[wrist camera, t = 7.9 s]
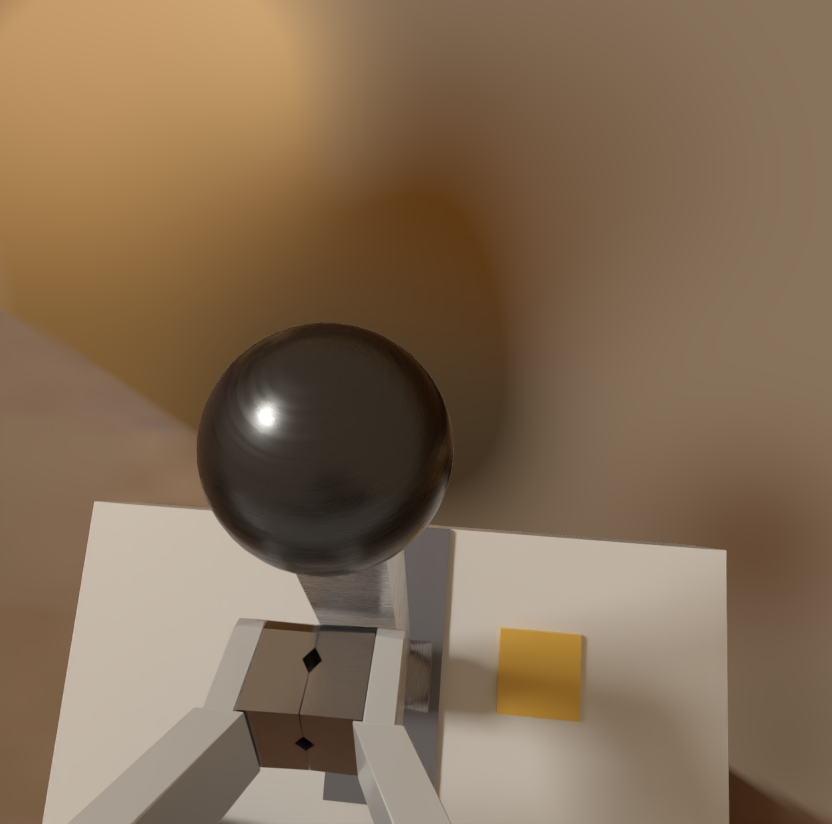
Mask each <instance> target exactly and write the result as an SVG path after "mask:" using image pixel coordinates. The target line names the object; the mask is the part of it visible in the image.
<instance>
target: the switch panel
mask: <svg viewBox="0 0 832 824" xmlns="http://www.w3.org/2000/svg"><path fill="white" fill-rule="evenodd" d="M404 558H405V572H406V585H407V599H408V613H409V626H410V640H419V641H430V642H433V646H432V662H431V677H430V691H429V704H428V713H424V712H414V711H404V713H403V723H402V725H405V726H406V728H407V731H408V733H409V735H410V737H411V739H412V741H413V743H414V745H415V748H416V750H417V752H418V754H419V756H420V758H421V760H422V762H423V765H424V767H425V769H426V771H427V773H428V775H429V777H430V779H431V781H432V784H433V786H434V788H435V790H436V792H437V794H438V796H439V798H440V801H441V803H442V805H443V807H444V809H445V811H446V813H447V815H448V818H449V820H450V822H451V824H729V762H728V674H727V672H728V671H727V584H726V582H727V580H726V551H725V550H718V549H712V548H705V547H698V546H691V545H682V544H669V543H656V542H643V541H630V540H616V539H604V538H591V537H578V536H565V535H553V534H552V535H551V534H540V533H527V532H514V531H513V532H512V531H501V530H488V529H475V528H462V527H449V526H436V525H428V526H427V527H426V528H425V529H424V530H423V532H422V533H421V534H420V535H419V536H418V537H417V538H416V539H415V540H414V541H413V542H412V543H411V544H409V545H408V546H407V547H406V548H405V549H404ZM239 618H248V619H263V620H270V621H282V622H294V623H306V624H318V625H320V623H319V621H318V619H317V617H316V615H315V613H314V611H313V609H312V606H311V604H310V602H309V600H308V598H307V596H306V594H305V592H304V590H303V588H302V586H301V584H300V582H299V579H298V577H297V575H296V574H294V573H291V572H287V571H284V570H280V569H278V568H275V567H273V566H271V565H269V564H266V563H264V562H263V561H261V560H260V559H258V558H256V557H255V556H253V555H252V554H250V553H249V552H247V551H246V550H244V549H243V548H242V547H241V546H240V545H239V544H237V543H236V542H235V541H234V540H233V539H232V538H231V536H230V535H229V534H228V533H227V532H226V531H225V529H224V528H223V527H222V526H221V524H220V523H219V522H218V520H217V519H216V517H215V515H214V514H213V512H212V510H211V508H204V507H191V506H178V505H165V504H152V503H134V502H96V501H94V507H93V514H92V520H91V526H90V532H89V538H88V544H87V551H86V557H85V563H84V569H83V575H82V582H81V588H80V594H79V600H78V606H77V612H76V619H75V625H74V631H73V637H72V643H71V649H70V656H69V662H68V668H67V674H66V680H65V687H64V693H63V699H62V705H61V711H60V717H59V724H58V730H57V736H56V742H55V748H54V755H53V761H52V767H51V773H50V779H49V785H48V792H47V798H46V804H45V810H44V816H43V823H42V824H68V823H69V822H70V821H71V820H72V819H73V818H74V817H75V816H76V815H78V814H79V813H80V812H81V811H82V810H83V809H84V808H85V807H86V806H87V805H88V804H89V803H91V802H92V801H93V800H94V799H95V798H96V797H97V796H98V795H99V794H100V793H101V792H103V791H104V790H105V789H106V788H107V787H108V786H109V785H110V784H111V783H112V782H113V781H115V780H116V779H117V778H118V777H119V776H120V775H121V774H122V773H123V772H124V771H125V770H127V769H128V768H129V767H130V766H131V765H132V764H133V763H134V762H135V761H136V760H137V759H138V758H140V757H141V756H142V755H143V754H144V753H145V752H146V751H147V750H148V749H149V748H150V747H152V746H153V745H154V744H155V743H156V742H157V741H158V740H159V739H160V738H161V737H162V736H164V735H165V734H166V733H167V732H168V731H169V730H170V729H171V728H172V727H173V726H174V725H176V724H177V723H178V722H179V721H180V720H181V719H182V718H183V717H184V716H185V715H186V714H187V713H189V712H190V711H191V710H192V709H193V708H203V705H204V702H205V700H206V697H207V694H208V692H209V689H210V687H211V684H212V681H213V679H214V676H215V674H216V671H217V668H218V666H219V663H220V661H221V658H222V655H223V653H224V650H225V648H226V645H227V642H228V640H229V637H230V635H231V632H232V629H233V627H234V626H235V624H236V623H237V621H238V620H239ZM219 823H220V824H374V822H373V819H372V817H371V814H370V811H369V808H368V805H367V802H366V800H365V797H364V794H363V791H362V788H361V785H360V782H359V780H358V776H355V775H346V774H338V773H329V772H321V771H312V770H310V769H309V770H298V769H282V768H265V767H260V772H259V773H258V774H257V776H256V777H255V778H254V779H253V781H252V782H251V783H250V784H249V786H248V787H247V788H246V789H245V791H244V792H243V793H242V794H241V796H240V797H239V798H238V799H237V801H236V802H235V803H234V804H233V806H232V807H231V808H230V809H229V811H228V812H227V813H226V814H225V816H224V817H223V818H222V819H221V821H220V822H219Z"/></svg>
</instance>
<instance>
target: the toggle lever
mask: <svg viewBox="0 0 832 824" xmlns="http://www.w3.org/2000/svg"><path fill="white" fill-rule="evenodd" d="M452 463H453V433H452V427H451V421H450V417H449V414H448V411H447V408H446V405H445V402H444V399H443V397H442V395H441V394H440V392H439V390H438V388H437V386H436V384H435V382H434V381H433V379H432V378H431V376H430V375H429V373H428V372H427V371H426V370H425V368H424V367H423V366H422V365H421V364H420V363H419V362H418V361H417V360H416V359H415V358H414V357H413V356H412V355H411V354H410V353H409V352H408V351H406V350H405V349H404V348H402V347H401V346H400V345H398V344H396V343H395V342H393V341H392V340H390V339H388V338H387V337H385V336H383V335H380V334H378V333H376V332H374V331H371V330H368V329H364V328H361V327H358V326H353V325H348V324H341V323H329V322H322V323H309V324H304V325H298V326H294V327H291V328H287V329H284V330H281V331H279V332H276V333H274V334H272V335H270V336H267V337H266V338H264V339H262V340H260V341H259V342H257V343H256V344H254V345H252V346H251V347H250V348H249V349H247V350H246V351H245V352H243V353H242V354H241V355H240V356H239V357H238V358H237V359H236V360H234V362H232V363H231V364H230V365H229V367H228V368H227V369H226V370H225V372H224V373H223V374H222V376H221V377H220V379H219V380H218V382H217V383H216V385H215V387H214V388H213V390H212V391H211V393H210V396H209V397H208V400H207V402H206V404H205V408H204V411H203V414H202V417H201V421H200V424H199V429H198V437H197V465H198V471H199V476H200V481H201V486H202V489H203V492H204V494H205V497H206V500H207V502H208V504H209V506H210V508H211V510H212V512H213V514H214V515H215V517H216V519H217V520H218V522H219V523H220V524H221V526H222V527H223V528H224V529H225V531H226V532H227V533H228V534H229V535H230V536H231V538H232V539H233V540H234V541H235V542H236V543H237V544H239V545H240V546H241V547H242V548H243V549H244V550H246V551H247V552H249V553H250V554H252V555H253V556H255V557H256V558H258V559H260V560H261V561H263V562H264V563H266V564H269V565H271V566H273V567H275V568H278V569H280V570H284V571H287V572H291V573H294V574H296V575H297V577H298V579H299V582H300V584H301V586H302V588H303V590H304V592H305V594H306V596H307V598H308V600H309V602H310V604H311V606H312V609H313V611H314V613H315V615H316V617H317V619H318V621H319V623H320V625H323V624H327V625H344V626H362V627H378V629H380V628H381V629H398V630H406V631H407V657H406V686H405V702H404V711H414V712H424V713H428V704H429V691H430V677H431V662H432V646H433V642H430V641H419V640H410V626H409V613H408V599H407V585H406V572H405V558H404V549H405V548H406V547H407V546H408V545H409V544H411V543H412V542H413V541H414V540H415V539H416V538H417V537H418V536H419V535H420V534H421V533H422V532H423V530H424V529H425V528H426V527H427V526H428V524H429V523H430V521H431V520H432V518H433V517H434V515H435V514H436V512H437V510H438V508H439V506H440V504H441V502H442V500H443V497H444V495H445V493H446V490H447V487H448V483H449V480H450V475H451V470H452Z"/></svg>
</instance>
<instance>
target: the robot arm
mask: <svg viewBox="0 0 832 824" xmlns="http://www.w3.org/2000/svg"><path fill="white" fill-rule="evenodd" d="M406 657H407V631H406V630H398V629H381V628H380V629H378V627H362V626H344V625H327V624H323V625H318V624H306V623H294V622H282V621H270V620H263V619H248V618H239V620H238V621H237V623H236V624H235V626H234V627H233V629H232V632H231V635H230V637H229V640H228V642H227V645H226V648H225V650H224V653H223V655H222V658H221V661H220V663H219V666H218V668H217V671H216V674H215V676H214V679H213V681H212V684H211V687H210V689H209V692H208V694H207V697H206V700H205V702H204V705H203V708H193V709H192V710H191V711H190V712H189V713H187V714H186V715H185V716H184V717H183V718H182V719H181V720H180V721H179V722H178V723H177V724H176V725H174V726H173V727H172V728H171V729H170V730H169V731H168V732H167V733H166V734H165V735H164V736H162V737H161V738H160V739H159V740H158V741H157V742H156V743H155V744H154V745H153V746H152V747H150V748H149V749H148V750H147V751H146V752H145V753H144V754H143V755H142V756H141V757H140V758H138V759H137V760H136V761H135V762H134V763H133V764H132V765H131V766H130V767H129V768H128V769H127V770H125V771H124V772H123V773H122V774H121V775H120V776H119V777H118V778H117V779H116V780H115V781H113V782H112V783H111V784H110V785H109V786H108V787H107V788H106V789H105V790H104V791H103V792H101V793H100V794H99V795H98V796H97V797H96V798H95V799H94V800H93V801H92V802H91V803H89V804H88V805H87V806H86V807H85V808H84V809H83V810H82V811H81V812H80V813H79V814H78V815H76V816H75V817H74V818H73V819H72V820H71V821H70V822H69V823H68V824H218V823H219V822H220V821H221V819H222V818H223V817H224V816H225V814H226V813H227V812H228V811H229V809H230V808H231V807H232V806H233V804H234V803H235V802H236V801H237V799H238V798H239V797H240V796H241V794H242V793H243V792H244V791H245V789H246V788H247V787H248V786H249V784H250V783H251V782H252V781H253V779H254V778H255V777H256V776H257V774H258V773H259V772H260V767H265V768H282V769H298V770H309V769H310V770H312V771H321V772H329V773H338V774H346V775H355V776H358V780H359V782H360V785H361V788H362V791H363V794H364V797H365V800H366V802H367V805H368V808H369V811H370V814H371V817H372V819H373V822H374V824H451V822H450V820H449V818H448V815H447V813H446V811H445V809H444V807H443V805H442V803H441V801H440V798H439V796H438V794H437V792H436V790H435V788H434V786H433V784H432V781H431V779H430V777H429V775H428V773H427V771H426V769H425V767H424V765H423V762H422V760H421V758H420V756H419V754H418V752H417V750H416V748H415V745H414V743H413V741H412V739H411V737H410V735H409V733H408V731H407V728H406V726H405V725H402V723H403V713H404V702H405V686H406Z"/></svg>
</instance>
